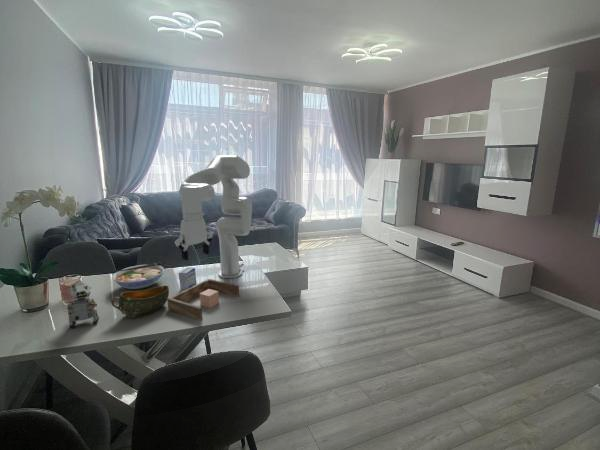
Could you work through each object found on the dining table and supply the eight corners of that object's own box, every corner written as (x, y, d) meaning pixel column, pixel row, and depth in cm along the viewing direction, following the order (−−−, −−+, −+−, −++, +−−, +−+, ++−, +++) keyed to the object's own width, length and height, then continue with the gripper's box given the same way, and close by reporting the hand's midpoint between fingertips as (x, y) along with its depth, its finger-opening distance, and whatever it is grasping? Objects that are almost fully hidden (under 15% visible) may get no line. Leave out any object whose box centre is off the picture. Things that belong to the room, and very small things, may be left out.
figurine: (101, 312, 132) (96, 278, 128) (96, 326, 121) (90, 290, 118) (75, 317, 128) (69, 282, 125) (67, 331, 118) (60, 294, 115)
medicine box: (188, 290, 153) (186, 273, 151) (179, 289, 154) (178, 272, 152) (196, 283, 161) (195, 267, 159) (188, 282, 162) (187, 266, 160)
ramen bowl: (111, 301, 142) (109, 284, 140) (111, 283, 161) (109, 268, 159) (171, 289, 154) (169, 273, 152) (164, 274, 173) (162, 259, 171)
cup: (120, 307, 136) (117, 285, 134) (170, 301, 142) (168, 280, 139) (112, 323, 124) (109, 299, 122) (168, 316, 130) (166, 293, 127)
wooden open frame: (209, 288, 155) (208, 278, 154) (239, 295, 147) (238, 285, 146) (168, 309, 134) (167, 298, 133) (200, 320, 126) (199, 308, 125)
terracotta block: (209, 300, 143) (208, 288, 142) (219, 302, 140) (218, 291, 139) (200, 305, 138) (199, 293, 137) (210, 308, 136) (209, 296, 134)
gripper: (205, 212, 138) (208, 250, 142) (167, 218, 125) (171, 260, 129) (216, 214, 133) (218, 253, 137) (178, 221, 120) (182, 264, 124)
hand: (196, 256), depth 133 cm, fingers open, 9 cm apart
